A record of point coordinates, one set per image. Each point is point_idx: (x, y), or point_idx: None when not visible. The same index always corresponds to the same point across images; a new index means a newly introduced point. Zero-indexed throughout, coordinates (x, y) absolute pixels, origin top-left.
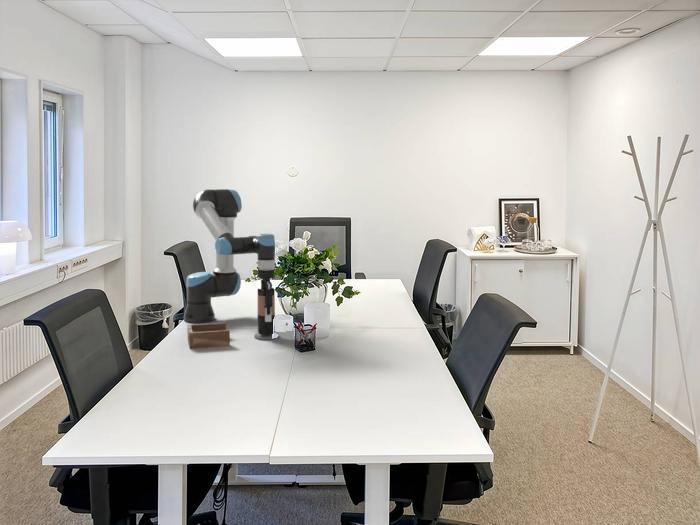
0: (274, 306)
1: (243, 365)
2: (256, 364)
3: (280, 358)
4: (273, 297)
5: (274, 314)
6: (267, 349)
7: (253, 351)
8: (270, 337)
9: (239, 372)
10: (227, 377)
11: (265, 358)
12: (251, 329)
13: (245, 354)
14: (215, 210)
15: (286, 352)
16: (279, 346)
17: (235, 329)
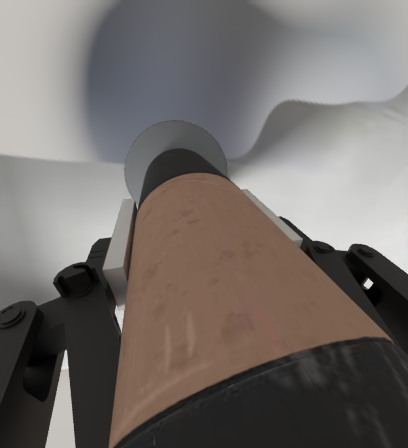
0: (249, 204)
1: (371, 241)
2: (385, 220)
3: (397, 165)
4: (348, 297)
5: (220, 176)
6: (314, 189)
7: (308, 223)
8: (216, 168)
9: (393, 246)
10: (396, 259)
11: (370, 200)
12: (43, 225)
13: (317, 239)
14: None
15: (372, 137)
16: (308, 148)
17: (52, 273)
